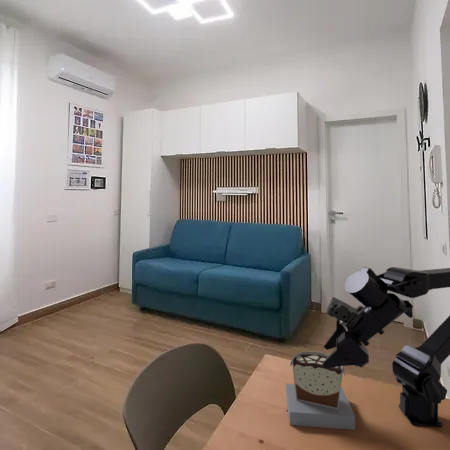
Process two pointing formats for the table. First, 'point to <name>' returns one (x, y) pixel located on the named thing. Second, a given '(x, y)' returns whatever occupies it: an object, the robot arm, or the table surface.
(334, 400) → the food container
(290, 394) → the base block
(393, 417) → the table surface
